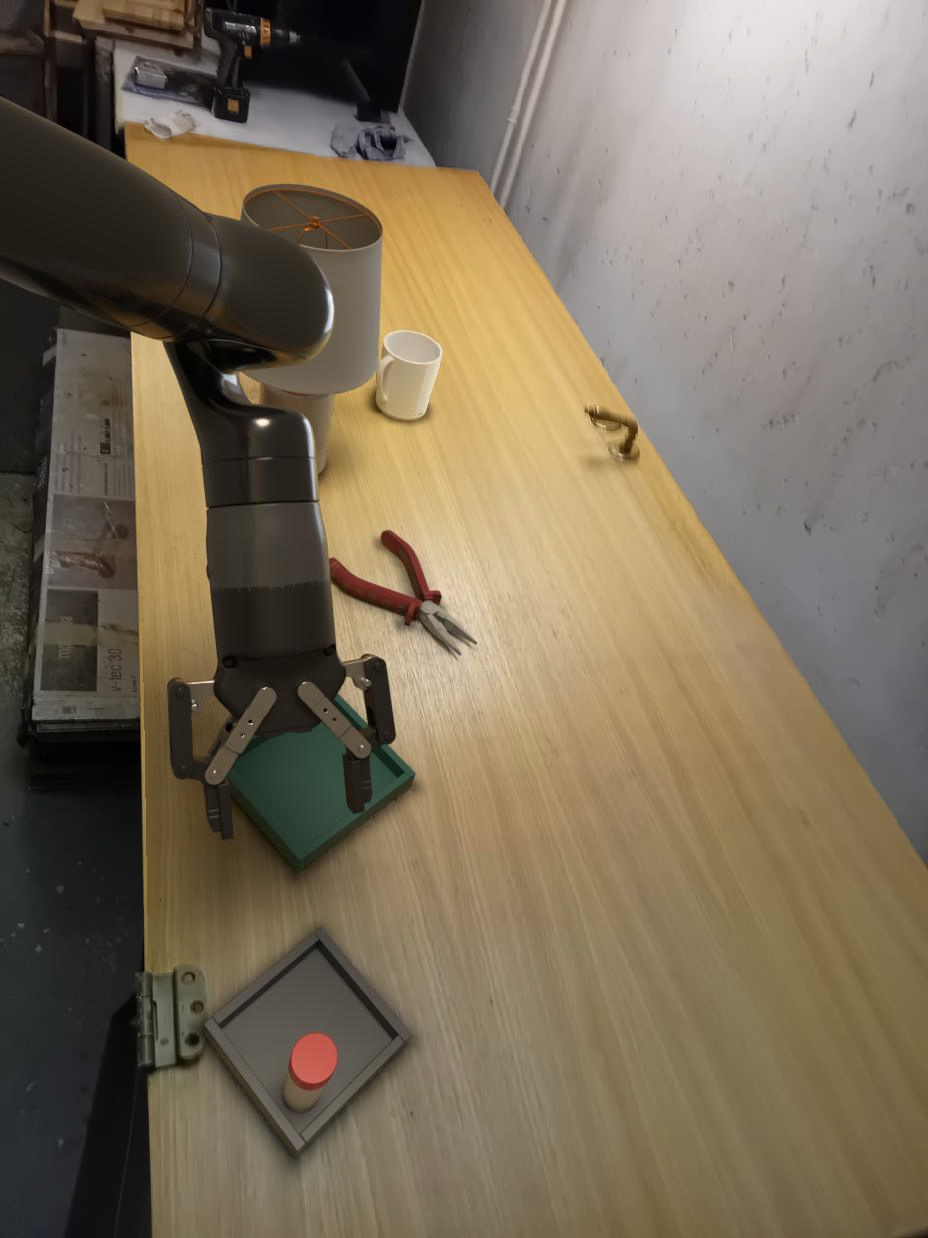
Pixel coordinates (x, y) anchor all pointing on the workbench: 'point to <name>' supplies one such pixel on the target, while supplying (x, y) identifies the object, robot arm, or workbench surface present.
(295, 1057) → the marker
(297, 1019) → the tray near
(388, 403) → the mug
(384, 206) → the workbench surface
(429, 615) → the pliers
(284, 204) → the lamp
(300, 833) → the tray far
